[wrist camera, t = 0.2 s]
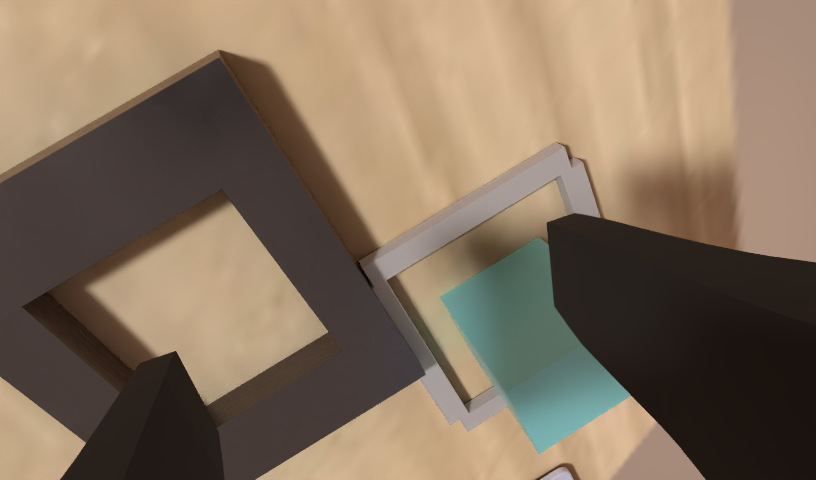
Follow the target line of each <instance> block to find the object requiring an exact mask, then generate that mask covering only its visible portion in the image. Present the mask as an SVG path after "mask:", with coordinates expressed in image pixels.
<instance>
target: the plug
mask: <svg viewBox="0 0 816 480" xmlns="http://www.w3.org/2000/svg"><path fill="white" fill-rule="evenodd" d="M440 298H441V300H442V301H443V303H444V305H445V307H446V308H447V310H448V312H449V314H450V316H451V317H452V319H453V321H454V323H455V324H456V326H457V328H458V330H459V331H460V333H461V335H462V337H463V338H464V340H465V342H466V344H467V346H468V347H469V349H470V351H471V353H472V354H473V356H474V357H475V359H476V360H477V362H478V363H479V365H480V366H481V368H482V369H483V371H484V372H485V374H486V375H487V377H488V378H489V380H490V381H491V383H492V384H493V386H494V387H495V389H496V390H497V392H498V393H499V395H500V396H501V398H502V399H503V401H504V402H505V403H506V405H507V406H508V408H509V409H510V411H511V412H512V414H513V415H514V417H515V418H516V420H517V421H518V423H519V424H520V426H521V427H522V429H523V430H524V432H525V433H526V435H527V436H528V438H529V439H530V441H531V442H532V444H533V445H534V447H535V448H536V450H537V451H538V453H539V454H540V453H541V452H543V451H544V450H546V449H547V448H549V447H551V446H552V445H554V444H555V443H557V442H559V441H560V440H562V439H563V438H565V437H566V436H568V435H570V434H571V433H573V432H574V431H576V430H578V429H579V428H581V427H582V426H584V425H585V424H587V423H589V422H590V421H592V420H593V419H595V418H597V417H598V416H600V415H601V414H603V413H604V412H606V411H608V410H609V409H611V408H612V407H614V406H616V405H617V404H619V403H620V402H622V401H623V400H625V399H627V398H628V397H630V396H631V395H630V394H629V393H628V392H627V391H626V390H625V389H624V388H623V387H622V386H621V385H620V384H619V382H618V381H617V380H616V379H615V378H614V377H613V376H612V375H611V374H610V373H609V372H608V371H607V370H606V369H605V368H604V367H603V366H602V365H601V364H600V363H599V362H598V361H597V360H596V359H595V358H594V357H593V356H592V355H591V354H590V352H589V351H588V350H587V349H586V348H585V347H584V346H583V345H582V344H581V342H580V341H579V340H578V339H577V337H576V336H575V335H574V333H573V332H572V331H571V329H570V328H569V327H568V325H567V324H566V322H565V321H564V320H563V318H562V317H561V315H560V314H559V312H558V311H557V310H556V308H555V307H554V299H553V288H552V277H551V265H550V254H549V245H548V244H547V243H546V242H544V241H543V240H542V239H541V238H540V237H537V238H536V239H534V240H532V241H531V242H529V243H528V244H526V245H524V246H523V247H521V248H519V249H518V250H516V251H514V252H513V253H511V254H509V255H508V256H506V257H505V258H503V259H501V260H500V261H498V262H496V263H495V264H493V265H491V266H490V267H488V268H486V269H485V270H483V271H481V272H480V273H478V274H477V275H475V276H473V277H472V278H470V279H468V280H467V281H465V282H463V283H462V284H460V285H458V286H457V287H455V288H454V289H452V290H450V291H449V292H447V293H445V294H444V295H442V296H440Z"/></svg>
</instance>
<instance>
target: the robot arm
mask: <svg viewBox="0 0 816 480" xmlns="http://www.w3.org/2000/svg"><path fill="white" fill-rule="evenodd" d="M547 231H548V243H549V254H550V265H551V277H552V288H553V299H554V307H555V308H556V310H557V311H558V312H559V314H560V315H561V317H562V318H563V320H564V321H565V322H566V324H567V325H568V327H569V328H570V329H571V331H572V332H573V333H574V335H575V336H576V337H577V339H578V340H579V341H580V342H581V344H582V345H583V346H584V347H585V348H586V349H587V350H588V351H589V352H590V354H591V355H592V356H593V357H594V358H595V359H596V360H597V361H598V362H599V363H600V364H601V365H602V366H603V367H604V368H605V369H606V370H607V371H608V372H609V373H610V374H611V375H612V376H613V377H614V378H615V379H616V380H617V381H618V382H619V384H620V385H621V386H622V387H623V388H624V389H625V390H626V391H627V392H628V393H629V394H630V395H631V396H632V397H633V398H634V399H635V400H636V401H637V402H638V403H639V404H640V405H641V406H642V407H643V408H644V409H645V410H646V411H647V412H648V413H649V414H650V415H651V416H652V417H653V418H654V419H655V420H656V421H657V422H658V423H659V424H660V425H661V426H662V428H663V429H664V430H665V431H666V432H667V433H668V434H669V435H670V436H671V437H672V439H673V440H674V441H675V442H676V443H677V444H678V445H679V446H680V448H681V449H682V450H683V452H684V453H685V454H686V455H687V457H688V458H689V459H690V460H691V461H692V463H693V464H694V465H695V466H696V468H697V469H698V470H699V472H700V473H701V474H702V475H703V477H704V478H705V479H706V480H816V263H815V262H808V261H801V260H793V259H787V258H780V257H772V256H766V255H760V254H754V253H748V252H743V251H738V250H733V249H728V248H723V247H718V246H713V245H708V244H704V243H699V242H695V241H691V240H686V239H682V238H678V237H674V236H670V235H666V234H662V233H658V232H654V231H650V230H646V229H642V228H638V227H634V226H630V225H626V224H623V223H619V222H615V221H611V220H607V219H602V218H598V217H594V216H589V215H584V214H578V213H573V214H570V215H567V216H564V217H562V218H559V219H556V220H553V221H550V222H547ZM60 480H225V479H224V470H223V460H222V453H221V445H220V437H219V431H218V430H217V428H216V426H215V424H214V422H213V420H212V418H211V416H210V414H209V412H208V411H207V409H206V407H205V405H204V403H203V401H202V399H201V397H200V395H199V394H198V392H197V390H196V388H195V386H194V384H193V382H192V380H191V378H190V377H189V375H188V373H187V371H186V369H185V367H184V365H183V363H182V361H181V360H180V358H179V356H178V354H177V352H176V351H174V352H171V353H168V354H165V355H163V356H160V357H157V358H154V359H151V360H148V361H145V362H142V363H140V364H139V366H138V367H137V368H136V370H135V371H134V373H133V374H132V375H131V377H130V378H129V380H128V381H127V383H126V384H125V386H124V387H123V389H122V390H121V392H120V393H119V395H118V397H117V398H116V400H115V401H114V403H113V404H112V406H111V407H110V409H109V410H108V412H107V413H106V415H105V416H104V418H103V419H102V421H101V422H100V424H99V425H98V427H97V428H96V430H95V431H94V433H93V434H92V435H91V437H90V438H89V440H88V441H87V443H86V444H85V446H84V447H83V449H82V450H81V452H80V453H79V455H78V456H77V458H76V459H75V460H74V462H73V463H72V464H71V466H70V467H69V468H68V470H67V471H66V473H65V474H64V475H63V477H62V478H61V479H60ZM540 480H574V479H573V477H572V475H571V473H570V472H569V470H568V469H567V468H566V467H560V468H558V469H556V470H554V471H553V472H551V473H549V474H548V475H546V476H545V477H543V478H542V479H540Z"/></svg>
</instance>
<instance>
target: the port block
mask: <svg viewBox="0 0 816 480" xmlns="http://www.w3.org/2000/svg"><path fill="white" fill-rule="evenodd" d="M221 189H222V190H223V192H224V193H225V194H226V196H227V197H228V198H229V200H230V201H231V202H232V204H233V205H234V206H235V208H236V209H237V210H238V212H239V213H240V214H241V216H242V217H243V218H244V220H245V221H246V222H247V224H248V225H249V226H250V228H251V229H252V230H253V232H254V233H255V234H256V236H257V237H258V238H259V240H260V241H261V242H262V244H263V245H264V246H265V248H266V249H267V250H268V252H269V253H270V254H271V256H272V257H273V258H274V260H275V261H276V262H277V264H278V265H279V266H280V268H281V269H282V270H283V272H284V273H285V274H286V276H287V277H288V278H289V280H290V281H291V282H292V284H293V285H294V286H295V288H296V289H297V290H298V292H299V293H300V294H301V296H302V297H303V298H304V300H305V301H306V302H307V304H308V305H309V306H310V308H311V309H312V310H313V312H314V313H315V314H316V316H317V317H318V318H319V320H320V321H321V322H322V324H323V325H324V326H325V328H326V329H327V330H328V333H327V334H325V335H323V336H322V337H320V338H318V339H317V340H315V341H314V342H312V343H310V344H309V345H307V346H305V347H304V348H302V349H300V350H299V351H297V352H295V353H294V354H292V355H290V356H289V357H287V358H285V359H284V360H282V361H280V362H279V363H277V364H276V365H274V366H272V367H271V368H269V369H267V370H266V371H264V372H262V373H261V374H259V375H257V376H256V377H254V378H252V379H251V380H249V381H247V382H246V383H244V384H242V385H241V386H239V387H237V388H236V389H234V390H233V391H231V392H229V393H228V394H226V395H224V396H223V397H221V398H219V399H218V400H216V401H214V402H213V403H211V404H209V405H208V406H206V409H207V411H208V412H209V414H210V416H211V418H212V420H213V422H214V424H215V426H216V428H217V430H218V431H219V437H220V445H221V453H222V460H223V470H224V479H225V480H255V479H257V478H259V477H260V476H262V475H263V474H265V473H267V472H268V471H270V470H272V469H273V468H275V467H277V466H278V465H280V464H281V463H283V462H285V461H286V460H288V459H290V458H291V457H293V456H294V455H296V454H298V453H299V452H301V451H303V450H304V449H306V448H307V447H309V446H311V445H312V444H314V443H316V442H317V441H319V440H320V439H322V438H324V437H325V436H327V435H329V434H330V433H332V432H334V431H335V430H337V429H338V428H340V427H342V426H343V425H345V424H347V423H348V422H350V421H351V420H353V419H355V418H356V417H358V416H360V415H361V414H363V413H364V412H366V411H368V410H369V409H371V408H373V407H374V406H376V405H377V404H379V403H381V402H382V401H384V400H386V399H387V398H389V397H390V396H392V395H394V394H395V393H397V392H399V391H400V390H402V389H404V388H405V387H407V386H408V385H410V384H412V383H413V382H415V381H417V380H418V379H420V378H421V377H423V376H425V375H426V373H425V371H424V369H423V367H422V365H421V363H420V362H419V360H418V358H417V357H416V355H415V354H414V352H413V351H412V349H411V348H410V346H409V344H408V343H407V341H406V340H405V338H404V337H403V335H402V334H401V332H400V331H399V329H398V328H397V326H396V324H395V323H394V321H393V320H392V318H391V317H390V315H389V314H388V312H387V311H386V309H385V308H384V306H383V304H382V303H381V301H380V300H379V298H378V297H377V295H376V294H375V292H374V291H373V289H372V287H371V285H370V283H369V281H368V279H367V278H366V276H365V275H364V273H363V272H362V270H361V269H360V267H359V266H358V264H357V263H356V261H355V259H354V258H353V256H352V255H351V253H350V252H349V250H348V249H347V247H346V246H345V244H344V242H343V241H342V239H341V238H340V236H339V235H338V233H337V232H336V230H335V229H334V227H333V226H332V224H331V222H330V221H329V219H328V218H327V216H326V215H325V213H324V212H323V210H322V209H321V207H320V205H319V204H318V202H317V201H316V199H315V198H314V196H313V195H312V193H311V192H310V190H309V188H308V187H307V185H306V184H305V182H304V181H303V179H302V178H301V176H300V175H299V173H298V172H297V170H296V168H295V167H294V165H293V164H292V162H291V161H290V159H289V158H288V156H287V155H286V153H285V151H284V150H283V148H282V147H281V145H280V144H279V142H278V141H277V139H276V138H275V136H274V134H273V133H272V131H271V130H270V128H269V127H268V125H267V124H266V122H265V121H264V119H263V118H262V116H261V114H260V113H259V111H258V110H257V108H256V107H255V105H254V104H253V102H252V101H251V99H250V97H249V96H248V94H247V93H246V91H245V90H244V88H243V87H242V85H241V84H240V82H239V81H238V79H237V77H236V76H235V74H234V73H233V71H232V70H231V68H230V67H229V65H228V64H227V62H226V60H225V59H224V57H223V56H222V54H221V53H220V51H219V50H217V51H215V52H213V53H212V54H210V55H208V56H206V57H205V58H203V59H201V60H199V61H198V62H196V63H194V64H192V65H191V66H189V67H187V68H186V69H184V70H182V71H180V72H179V73H177V74H175V75H173V76H172V77H170V78H168V79H166V80H165V81H163V82H161V83H159V84H158V85H156V86H154V87H152V88H151V89H149V90H147V91H145V92H144V93H142V94H140V95H139V96H137V97H135V98H133V99H132V100H130V101H128V102H126V103H125V104H123V105H121V106H119V107H118V108H116V109H114V110H112V111H111V112H109V113H107V114H105V115H104V116H102V117H100V118H98V119H97V120H95V121H93V122H92V123H90V124H88V125H86V126H85V127H83V128H81V129H79V130H78V131H76V132H74V133H72V134H71V135H69V136H67V137H65V138H64V139H62V140H60V141H58V142H57V143H55V144H53V145H51V146H50V147H48V148H46V149H45V150H43V151H41V152H39V153H38V154H36V155H34V156H32V157H31V158H29V159H27V160H25V161H24V162H22V163H20V164H18V165H17V166H15V167H13V168H11V169H10V170H8V171H6V172H4V173H3V174H1V175H0V377H2V378H3V379H4V380H6V381H7V382H8V383H10V384H11V385H12V386H13V387H15V388H16V389H17V390H19V391H20V392H21V393H22V394H24V395H25V396H26V397H28V398H29V399H30V400H32V401H33V402H34V403H35V404H37V405H38V406H39V407H41V408H42V409H43V410H44V411H46V412H47V413H48V414H50V415H51V416H52V417H54V418H55V419H56V420H57V421H59V422H60V423H61V424H63V425H64V426H65V427H66V428H68V429H69V430H70V431H72V432H73V433H74V434H76V435H77V436H78V437H79V438H81V439H82V440H83V441H85V442H86V443H87V441H88V440H89V438H90V437H91V435H92V434H93V433H94V431H95V430H96V428H97V427H98V425H99V424H100V422H101V421H102V419H103V418H104V416H105V415H106V413H107V412H108V410H109V409H110V407H111V406H112V404H113V403H114V401H115V400H116V398H117V397H118V395H119V393H120V392H121V390H122V389H123V387H124V386H125V384H126V383H127V381H128V380H129V378H130V377H131V375H132V374H133V373H134V372H133V371H131V370H130V369H129V368H128V367H127V366H126V365H125V364H124V363H123V362H122V361H121V360H119V359H118V358H117V357H116V356H115V355H114V354H113V353H112V352H111V351H110V350H109V349H107V348H106V347H105V346H104V345H103V344H102V343H101V342H100V341H99V340H98V339H97V338H96V337H94V336H93V335H92V334H91V333H90V332H89V331H88V330H87V329H86V328H85V327H84V326H82V325H81V324H80V323H79V322H78V321H77V320H76V319H75V318H74V317H73V316H72V315H71V314H69V313H68V312H67V311H66V310H65V309H64V308H63V307H62V306H61V305H60V304H59V303H57V302H56V301H55V300H54V299H53V298H52V297H51V296H50V295H49V294H48V293H47V291H49V290H51V289H53V288H54V287H56V286H58V285H59V284H61V283H63V282H64V281H66V280H68V279H70V278H71V277H73V276H75V275H76V274H78V273H80V272H81V271H83V270H85V269H87V268H88V267H90V266H92V265H93V264H95V263H97V262H99V261H100V260H102V259H104V258H105V257H107V256H109V255H110V254H112V253H114V252H116V251H117V250H119V249H121V248H122V247H124V246H126V245H127V244H129V243H131V242H133V241H134V240H136V239H138V238H139V237H141V236H143V235H145V234H146V233H148V232H150V231H151V230H153V229H155V228H156V227H158V226H160V225H162V224H163V223H165V222H167V221H168V220H170V219H172V218H174V217H175V216H177V215H179V214H180V213H182V212H184V211H185V210H187V209H189V208H191V207H192V206H194V205H196V204H197V203H199V202H201V201H202V200H204V199H206V198H208V197H209V196H211V195H213V194H214V193H216V192H218V191H220V190H221Z"/></svg>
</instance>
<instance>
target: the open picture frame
mask: <svg viewBox="0 0 816 480" xmlns="http://www.w3.org/2000/svg"><path fill="white" fill-rule="evenodd" d="M555 178H556V181H557V184H558V186H559V189H560V192H561V195H562V198H563V200H564V203H565V206H566V209H567V212H568V215H570V214H573V213H578V214H584V215H589V216H594V217H598V218H601V217H600V214H599V211H598V208H597V205H596V202H595V198H594V195H593V192H592V189H591V186H590V183H589V180H588V176H587V173H586V170H585V167H584V164H583V162H582V161H581V160H579V159H577V158H575V157H573V158H572V159H570V160H569V158H568V155H567V152H566V149H565V147H564V146H562V145H561V144H559V143H557V142H556V143H554V144H552V145H551V146H549V147H547V148H546V149H544V150H542V151H541V152H539V153H537V154H536V155H534V156H532V157H531V158H529V159H527V160H526V161H524V162H522V163H521V164H519V165H517V166H516V167H514V168H512V169H511V170H509V171H507V172H506V173H504V174H502V175H501V176H499V177H497V178H496V179H494V180H492V181H491V182H489V183H487V184H486V185H484V186H482V187H481V188H479V189H477V190H476V191H474V192H472V193H471V194H469V195H467V196H466V197H464V198H462V199H461V200H459V201H457V202H456V203H454V204H452V205H451V206H449V207H447V208H446V209H444V210H442V211H441V212H439V213H437V214H436V215H434V216H432V217H431V218H429V219H427V220H426V221H424V222H422V223H421V224H419V225H417V226H416V227H414V228H412V229H411V230H409V231H407V232H406V233H404V234H402V235H401V236H399V237H397V238H396V239H394V240H392V241H391V242H389V243H387V244H386V245H384V246H382V247H381V248H379V249H377V250H376V251H374V252H372V253H371V254H369V255H367V256H366V257H364V258H363V259H361V260H359V263H360V265H361V267H362V269H363V270H364V272H365V273H366V275H367V276H368V278H369V283H370V285H371V287H372V289H373V291H374V292H375V294H376V295H377V297H378V298H379V300H380V301H381V303H382V304H383V306H384V308H385V309H386V311H387V312H388V314H389V315H390V317H391V318H392V320H393V321H394V323H395V324H396V326H397V328H398V329H399V331H400V332H401V334H402V335H403V337H404V338H405V340H406V341H407V343H408V344H409V346H410V348H411V349H412V351H413V352H414V354H415V355H416V357H417V358H418V360H419V362H420V363H421V365H422V367H423V369H424V371H425V373H426V375H425V376H423V377H421V378H420V380H421V382H422V383H423V385H424V386H425V388H426V389H427V391H428V392H429V394H430V395H431V397H432V398H433V400H434V401H435V403H436V404H437V406H438V407H439V409H440V410H441V412H442V413H443V415H444V416H445V418H446V419H447V421H448V422H449V424H450V425H451V424H453V423H454V422H456V421H458V420H459V419H460V420H461V422H462V424H463V425H464V427H465V428H466V430H467V431H470V430H471V429H473V428H474V427H476V426H478V425H479V424H481V423H482V422H484V421H486V420H487V419H489V418H490V417H492V416H494V415H495V414H497V413H498V412H500V411H502V410H503V409H505V408H507V407H508V406H507V405H506V403H505V402H504V401H503V399H502V398H501V396H500V395H499V393H498V392H497V390H496V389H495V387H494V386H493V387H492V388H490V389H488V390H487V391H485V392H483V393H482V394H480V395H479V396H477V397H475V398H474V399H472V400H471V401H469V402H467V403H466V404H463V402H462V401H461V399H460V397H459V396H458V394H457V393H456V391H455V389H454V388H453V386H452V385H451V383H450V381H449V380H448V378H447V377H446V375H445V373H444V372H443V370H442V369H441V367H440V365H439V364H438V362H437V361H436V359H435V357H434V356H433V354H432V353H431V351H430V349H429V348H428V346H427V344H426V343H425V341H424V340H423V338H422V336H421V335H420V333H419V332H418V330H417V328H416V327H415V325H414V324H413V322H412V320H411V319H410V317H409V316H408V314H407V312H406V311H405V309H404V308H403V306H402V304H401V303H400V301H399V300H398V298H397V296H396V295H395V293H394V292H393V290H392V288H391V287H390V285H389V284H388V282H387V280H388V279H389V278H391V277H393V276H394V275H396V274H398V273H399V272H401V271H403V270H404V269H406V268H408V267H409V266H411V265H413V264H414V263H416V262H417V261H419V260H421V259H422V258H424V257H426V256H427V255H429V254H431V253H432V252H434V251H436V250H437V249H439V248H441V247H442V246H444V245H446V244H447V243H449V242H451V241H452V240H454V239H456V238H457V237H459V236H461V235H462V234H464V233H466V232H467V231H469V230H470V229H472V228H474V227H475V226H477V225H479V224H480V223H482V222H484V221H485V220H487V219H489V218H490V217H492V216H494V215H495V214H497V213H499V212H500V211H502V210H504V209H505V208H507V207H509V206H510V205H512V204H514V203H515V202H517V201H519V200H520V199H522V198H524V197H525V196H527V195H528V194H530V193H532V192H533V191H535V190H537V189H538V188H540V187H542V186H543V185H545V184H547V183H548V182H550V181H552V180H553V179H555Z"/></svg>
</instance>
